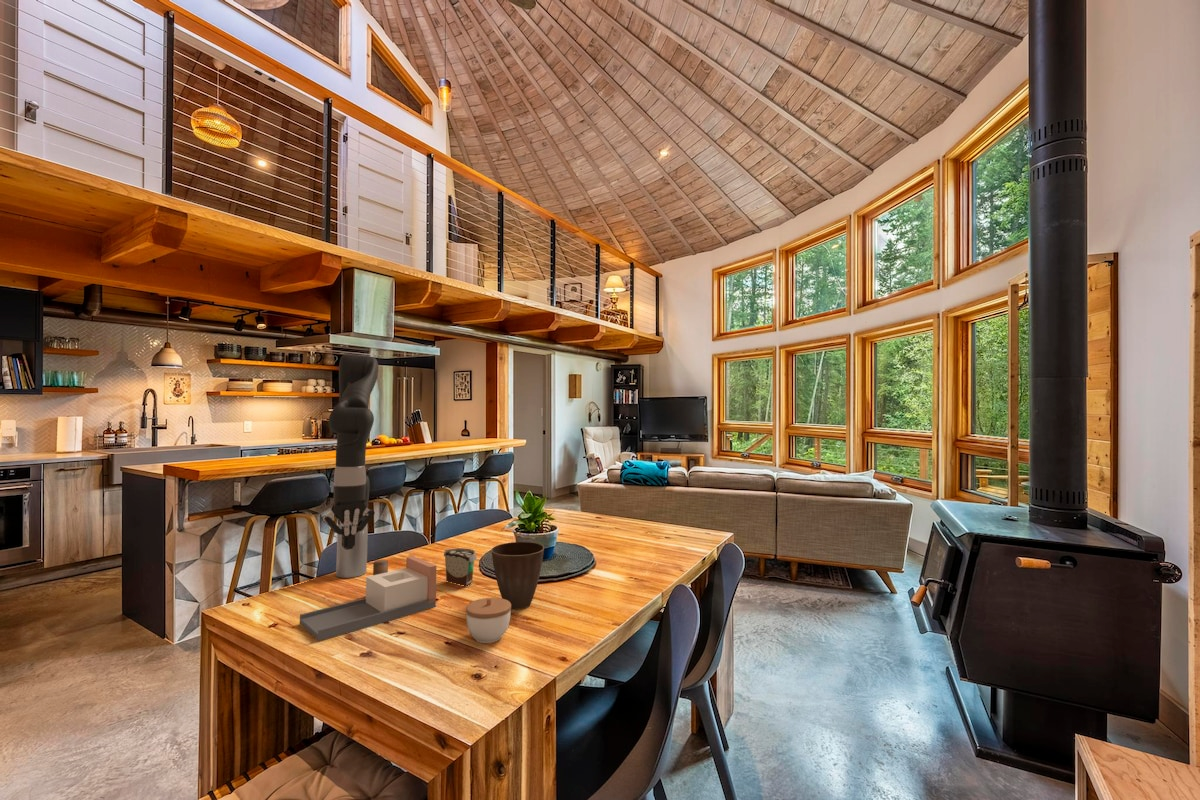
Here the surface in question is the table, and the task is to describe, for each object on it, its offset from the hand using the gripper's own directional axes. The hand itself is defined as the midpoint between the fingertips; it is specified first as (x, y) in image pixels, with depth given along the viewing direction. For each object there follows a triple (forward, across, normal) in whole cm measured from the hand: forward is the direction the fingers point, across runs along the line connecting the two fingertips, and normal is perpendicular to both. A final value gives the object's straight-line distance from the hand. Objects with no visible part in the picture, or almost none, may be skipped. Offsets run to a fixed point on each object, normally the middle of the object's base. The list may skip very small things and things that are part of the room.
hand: (348, 548), depth 130 cm
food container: (+19, -38, -4) cm, 42 cm away
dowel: (+19, -14, -11) cm, 26 cm away
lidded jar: (+18, -20, +36) cm, 45 cm away
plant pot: (+18, -38, +24) cm, 48 cm away
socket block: (+17, -13, +2) cm, 21 cm away
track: (+18, -6, +2) cm, 19 cm away
